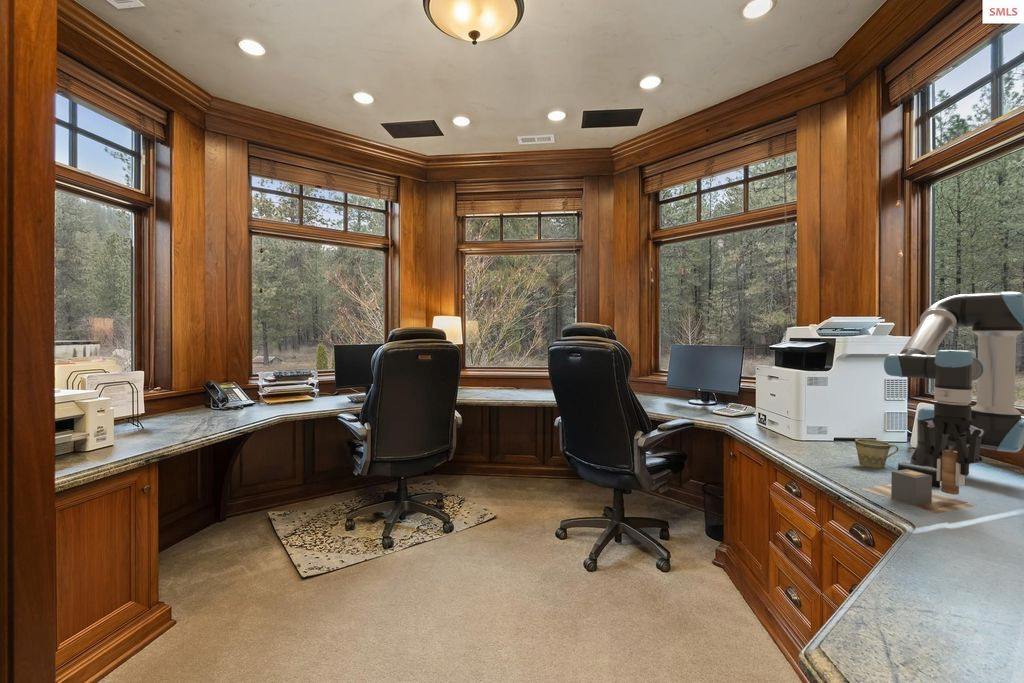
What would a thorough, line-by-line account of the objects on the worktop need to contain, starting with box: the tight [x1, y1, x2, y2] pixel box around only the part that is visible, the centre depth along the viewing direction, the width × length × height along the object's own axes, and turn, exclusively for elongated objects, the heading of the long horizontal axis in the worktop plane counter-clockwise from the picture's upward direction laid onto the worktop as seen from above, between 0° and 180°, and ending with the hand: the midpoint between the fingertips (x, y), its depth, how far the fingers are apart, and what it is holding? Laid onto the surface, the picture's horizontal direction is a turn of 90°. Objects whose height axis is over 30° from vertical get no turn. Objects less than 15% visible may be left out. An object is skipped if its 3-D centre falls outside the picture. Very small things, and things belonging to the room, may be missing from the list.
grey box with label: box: [890, 469, 933, 506], centre depth 124 cm, size 7×6×8 cm
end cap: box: [897, 461, 941, 488], centre depth 140 cm, size 10×7×7 cm
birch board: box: [861, 483, 977, 514], centre depth 127 cm, size 18×19×1 cm
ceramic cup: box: [854, 438, 899, 469], centre depth 157 cm, size 13×10×10 cm
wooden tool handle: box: [940, 446, 960, 496], centre depth 123 cm, size 4×4×14 cm
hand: (950, 482), depth 123 cm, fingers closed on wooden tool handle, 3 cm apart
